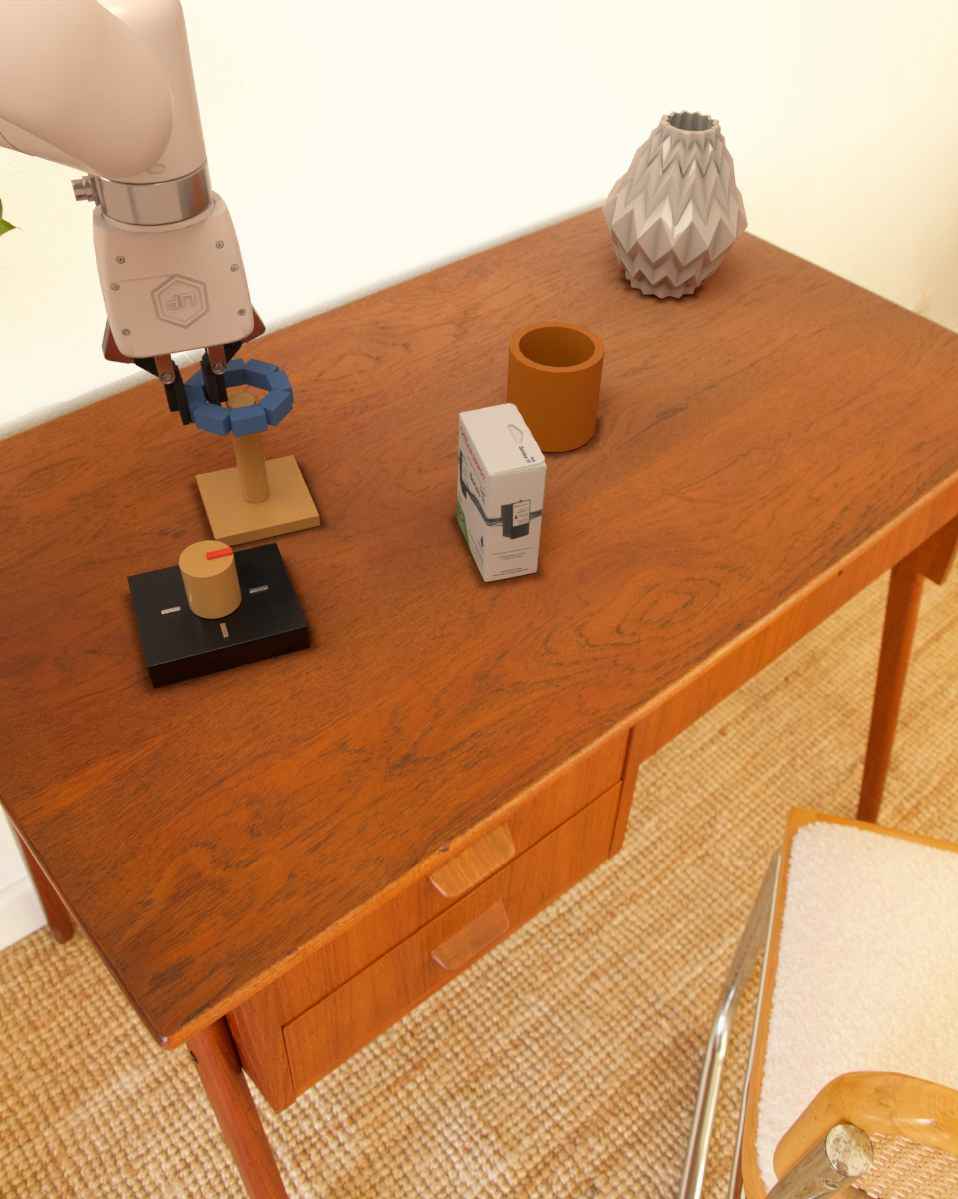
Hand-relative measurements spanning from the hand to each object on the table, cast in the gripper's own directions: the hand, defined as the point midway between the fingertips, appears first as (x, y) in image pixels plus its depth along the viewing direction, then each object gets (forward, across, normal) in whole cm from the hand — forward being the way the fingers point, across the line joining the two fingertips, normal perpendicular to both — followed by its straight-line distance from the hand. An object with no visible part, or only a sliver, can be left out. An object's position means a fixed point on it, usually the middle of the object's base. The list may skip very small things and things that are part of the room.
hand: (199, 410), depth 82 cm
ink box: (+11, +21, -12) cm, 27 cm away
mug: (+11, +34, +3) cm, 36 cm away
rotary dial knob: (+8, -3, -13) cm, 16 cm away
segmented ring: (0, +3, 0) cm, 3 cm away
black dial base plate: (+11, -3, -13) cm, 17 cm away
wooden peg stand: (+11, +3, 0) cm, 11 cm away
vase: (+11, +57, +24) cm, 63 cm away
